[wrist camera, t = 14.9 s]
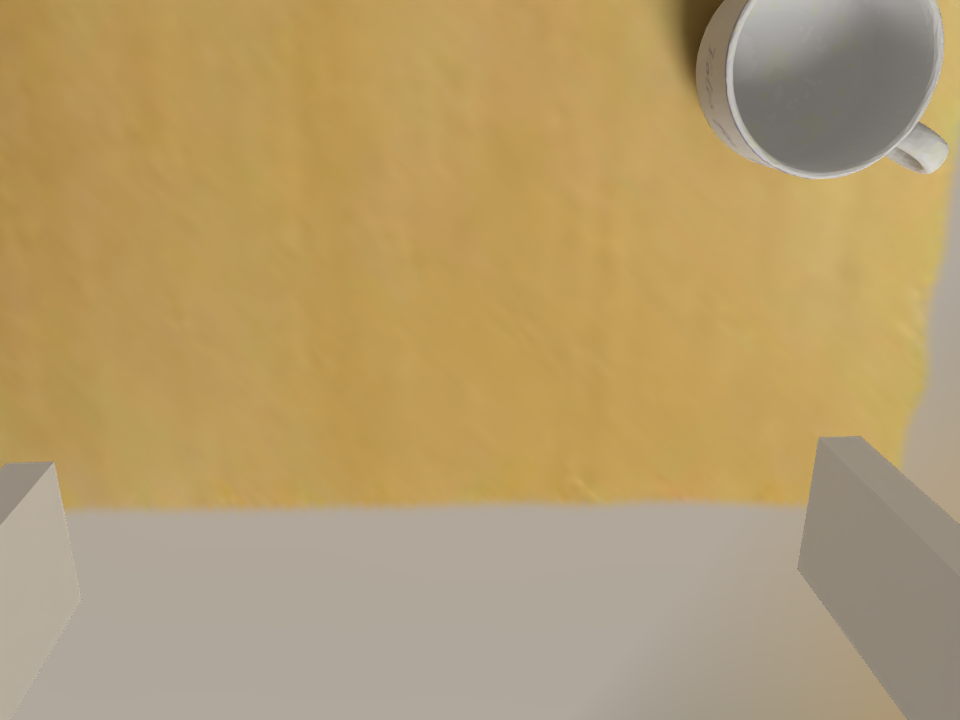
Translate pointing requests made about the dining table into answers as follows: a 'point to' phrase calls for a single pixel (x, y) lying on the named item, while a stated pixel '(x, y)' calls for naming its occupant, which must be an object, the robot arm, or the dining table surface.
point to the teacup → (823, 83)
